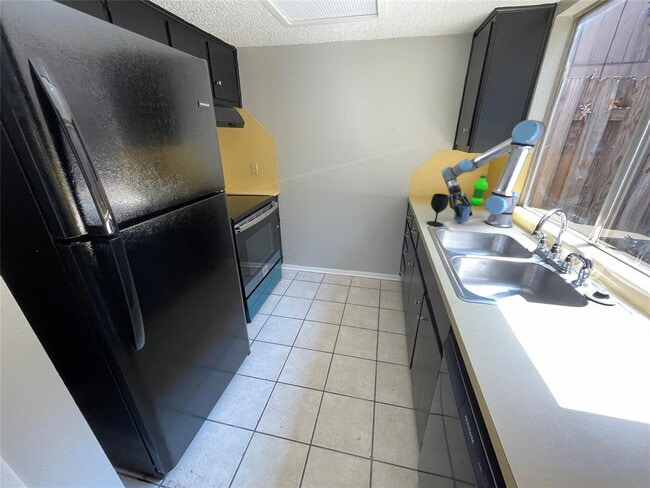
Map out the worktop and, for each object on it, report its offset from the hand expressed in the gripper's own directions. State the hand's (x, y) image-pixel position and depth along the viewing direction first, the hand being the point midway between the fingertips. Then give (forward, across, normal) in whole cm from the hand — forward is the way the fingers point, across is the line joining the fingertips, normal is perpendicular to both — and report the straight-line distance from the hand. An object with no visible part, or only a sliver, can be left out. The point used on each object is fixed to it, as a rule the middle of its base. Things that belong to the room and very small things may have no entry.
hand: (465, 216), depth 173 cm
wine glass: (+1, +19, -8) cm, 21 cm away
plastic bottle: (-24, -52, -33) cm, 66 cm away
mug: (+2, +1, -4) cm, 5 cm away
